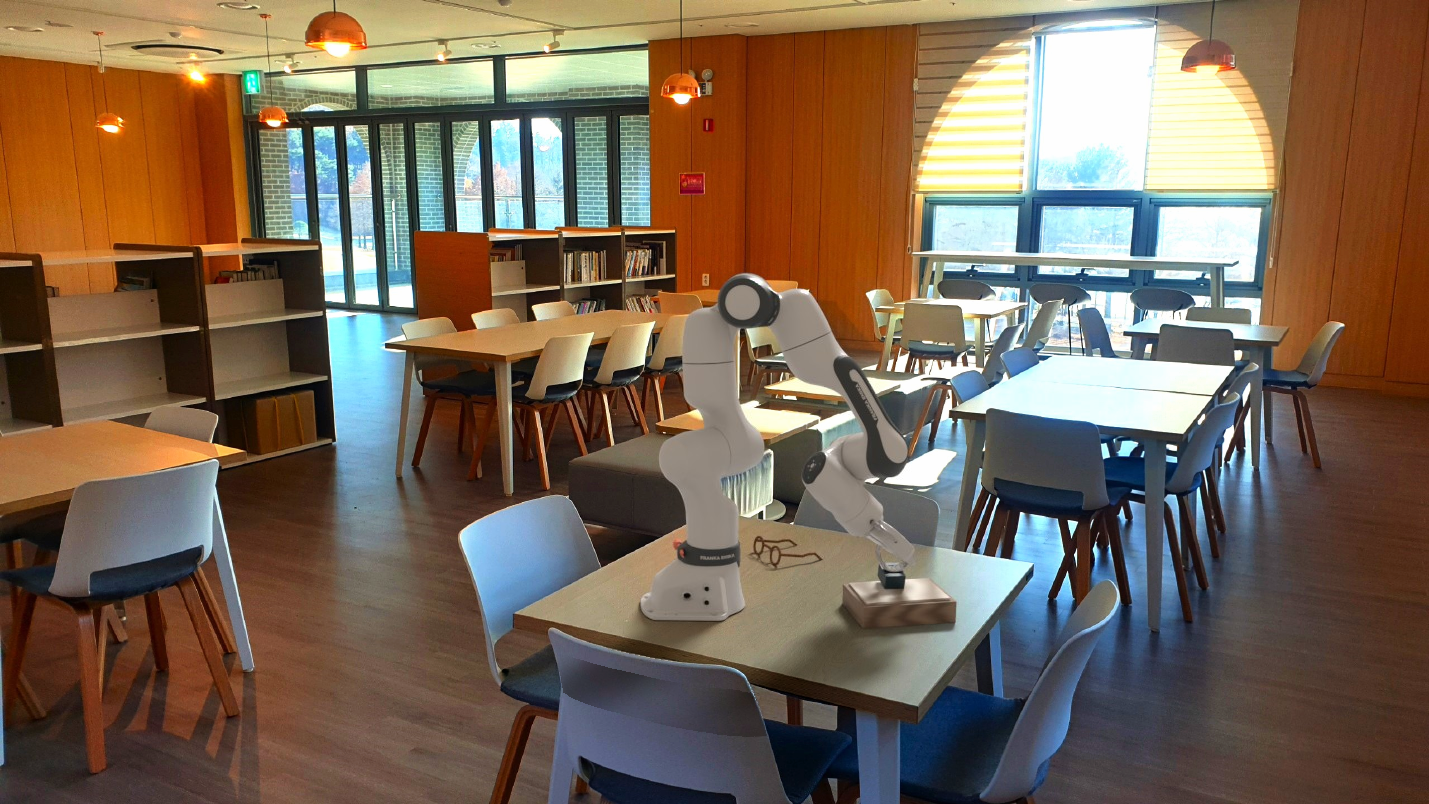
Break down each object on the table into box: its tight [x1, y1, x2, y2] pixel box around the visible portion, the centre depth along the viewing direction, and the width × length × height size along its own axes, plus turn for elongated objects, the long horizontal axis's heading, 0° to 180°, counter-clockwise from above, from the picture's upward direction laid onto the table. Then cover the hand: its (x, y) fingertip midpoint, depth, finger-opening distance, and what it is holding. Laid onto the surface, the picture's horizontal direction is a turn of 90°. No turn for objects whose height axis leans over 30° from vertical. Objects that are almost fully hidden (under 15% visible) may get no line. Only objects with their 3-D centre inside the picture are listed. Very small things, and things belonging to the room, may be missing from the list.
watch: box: [875, 535, 915, 589], centre depth 216 cm, size 6×8×11 cm
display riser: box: [841, 577, 958, 629], centre depth 215 cm, size 20×14×5 cm
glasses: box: [753, 535, 823, 566], centre depth 251 cm, size 13×13×5 cm
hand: (902, 556), depth 213 cm, fingers open, 8 cm apart
